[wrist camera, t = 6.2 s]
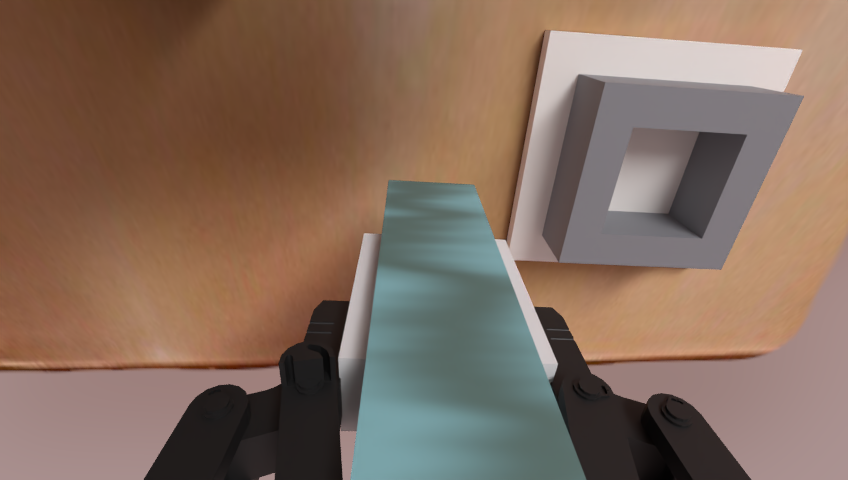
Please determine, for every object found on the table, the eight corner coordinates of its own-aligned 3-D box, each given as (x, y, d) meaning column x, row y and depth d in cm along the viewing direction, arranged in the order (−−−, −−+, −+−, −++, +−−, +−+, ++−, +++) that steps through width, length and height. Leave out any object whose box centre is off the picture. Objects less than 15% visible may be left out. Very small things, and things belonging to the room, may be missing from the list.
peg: (386, 254, 21) (339, 738, 7) (388, 180, 19) (330, 641, 5) (464, 257, 21) (571, 733, 7) (474, 184, 19) (646, 638, 5)
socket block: (504, 252, 29) (519, 289, 25) (545, 29, 22) (574, 31, 18) (694, 260, 30) (738, 297, 26) (787, 48, 23) (865, 54, 19)
